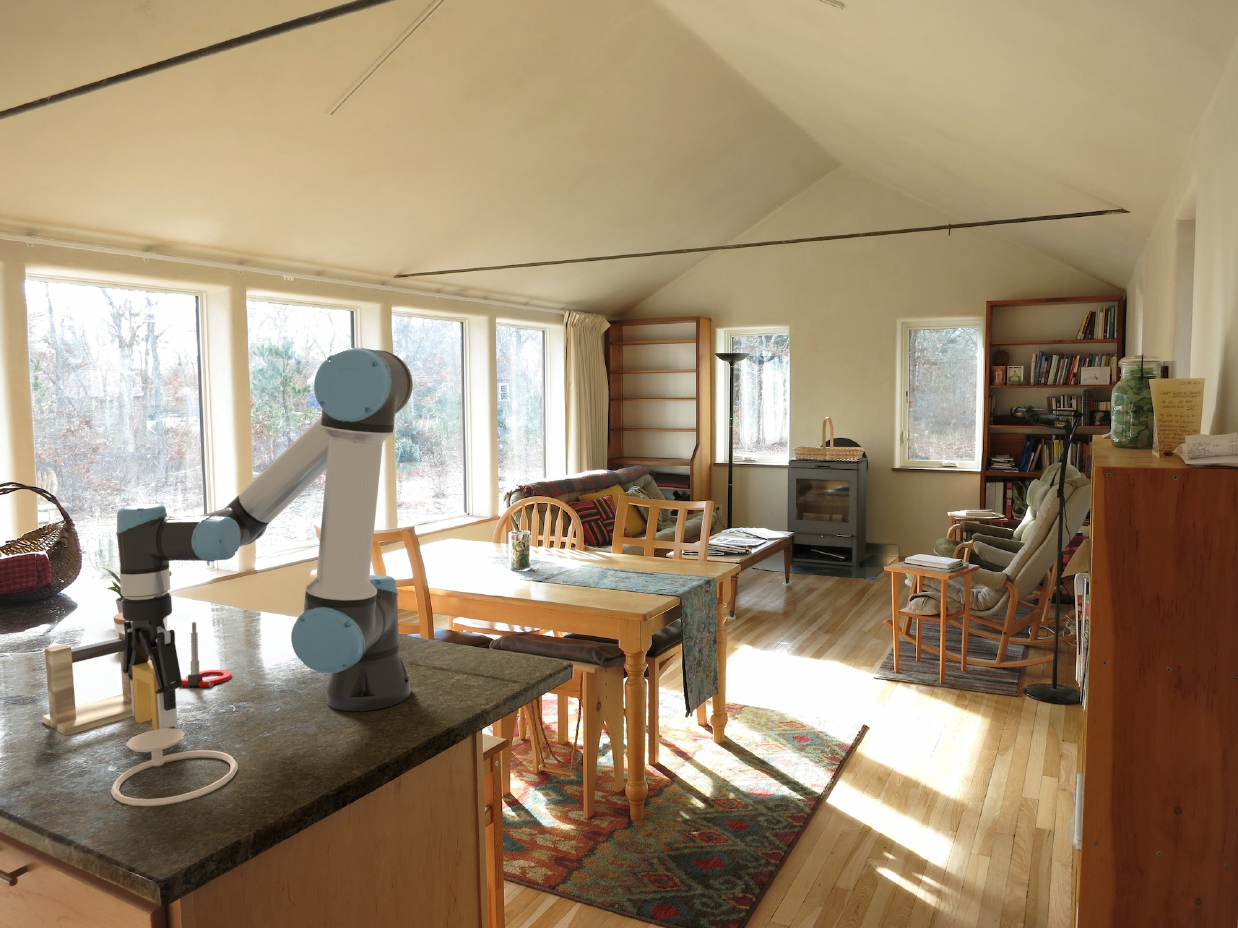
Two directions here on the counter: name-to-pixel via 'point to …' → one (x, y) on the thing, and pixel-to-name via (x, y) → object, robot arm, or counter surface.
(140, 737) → the hand towel holder
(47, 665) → the wooden crossbar stand
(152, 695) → the yellow u-shaped bracket
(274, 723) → the counter surface
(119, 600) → the house plant
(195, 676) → the tow hook
